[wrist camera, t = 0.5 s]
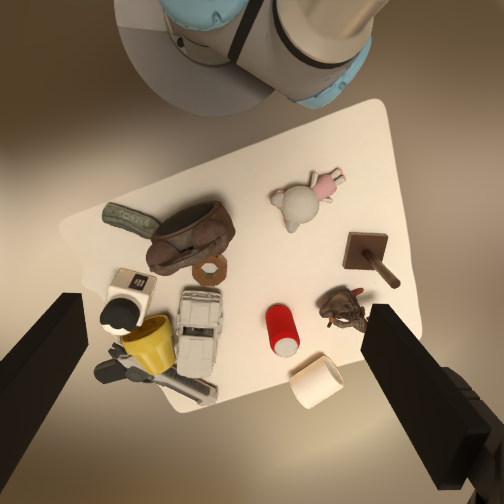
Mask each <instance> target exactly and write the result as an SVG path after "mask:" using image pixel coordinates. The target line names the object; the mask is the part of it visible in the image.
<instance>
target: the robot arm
mask: <svg viewBox="0 0 504 504" xmlns="http://www.w3.org/2000/svg"><path fill="white" fill-rule="evenodd" d="M388 1H389V0H158V2H159V4H160V5H161V7H162V9H163V16H164V21H165V25H166V28H167V31H168V34H169V36H170V38H171V40H172V41H173V43H174V44H175V46H176V47H177V48H178V50H179V51H180V52H181V53H182V54H183V55H184V56H185V57H186V58H188V59H189V60H190V61H192V62H194V63H196V64H198V65H201V66H204V67H209V68H218V67H223V66H226V65H229V64H231V63H233V62H234V63H236V64H237V65H238V66H240V67H242V68H243V69H245V70H246V71H248V72H249V73H251V74H252V75H254V76H256V77H257V78H259V79H260V80H262V81H263V82H265V83H267V84H268V85H270V86H271V87H273V88H274V89H276V90H277V91H279V92H280V93H282V94H283V95H285V96H286V97H287V98H288V99H289V100H290V101H292V102H294V103H298V104H300V105H302V106H304V107H306V108H308V109H318V108H321V107H323V106H325V105H327V104H328V103H330V102H331V101H333V100H334V99H335V98H336V97H337V96H338V95H339V94H340V93H341V92H342V91H343V88H344V86H345V85H347V84H349V83H350V82H351V80H352V79H353V78H354V77H355V75H356V74H357V72H358V70H359V69H360V68H361V66H362V64H363V62H364V61H365V59H366V56H367V54H368V52H369V49H370V45H371V35H370V34H371V30H372V26H373V17H374V16H375V14H376V13H377V12H378V11H379V10H380V9H381V8H382V7H383V6H384V5H385V4H386V3H387V2H388ZM88 345H89V344H88V337H87V330H86V323H85V315H84V308H83V300H82V294H81V293H62V294H61V295H60V296H59V298H58V299H57V300H56V301H55V302H54V303H53V304H52V305H51V306H50V308H49V309H48V310H47V311H46V312H45V313H44V314H43V315H42V316H41V317H40V319H39V320H38V321H37V322H36V323H35V324H34V325H33V326H32V327H31V329H30V330H29V331H28V332H27V333H26V334H25V335H24V336H23V337H22V338H21V340H20V341H19V342H18V343H17V344H16V345H15V346H14V347H13V348H12V349H11V351H10V352H9V353H8V354H7V355H6V356H5V357H4V358H3V360H2V361H0V493H1V492H2V490H3V488H4V487H5V485H6V483H7V482H8V480H9V478H10V476H11V475H12V473H13V471H14V470H15V468H16V466H17V465H18V463H19V461H20V460H21V458H22V456H23V454H24V453H25V451H26V450H27V448H28V446H29V444H30V443H31V441H32V439H33V438H34V436H35V434H36V432H37V431H38V429H39V428H40V426H41V424H42V423H43V421H44V419H45V417H46V415H47V414H48V412H49V411H50V409H51V407H52V406H53V404H54V402H55V401H56V399H57V397H58V396H59V394H60V392H61V390H62V389H63V387H64V385H65V384H66V382H67V380H68V379H69V377H70V375H71V373H72V372H73V370H74V369H75V367H76V365H77V363H78V362H79V360H80V358H81V356H82V355H83V353H84V352H85V350H86V348H87V346H88ZM360 351H361V353H362V354H363V356H364V358H365V360H366V362H367V363H368V365H369V367H370V369H371V371H372V372H373V374H374V376H375V378H376V380H377V381H378V383H379V385H380V387H381V388H382V390H383V392H384V394H385V396H386V397H387V399H388V401H389V403H390V404H391V407H392V408H393V410H394V412H395V414H396V415H397V417H398V419H399V421H400V423H401V424H402V426H403V428H404V430H405V432H406V433H407V435H408V437H409V439H410V441H411V442H412V444H413V446H414V448H415V450H416V451H417V453H418V455H419V457H420V458H421V460H422V462H423V464H424V466H425V468H426V469H427V471H428V473H429V475H430V476H431V478H432V480H433V482H434V484H435V486H436V487H437V489H438V490H461V488H462V486H463V484H464V482H465V480H466V478H467V477H468V479H469V480H470V482H471V483H472V485H473V487H474V488H475V490H474V492H473V494H472V496H471V497H470V499H469V501H468V503H467V504H504V424H503V423H502V422H501V421H500V420H499V419H498V418H497V416H496V415H495V414H494V413H493V412H492V411H491V410H490V408H489V407H488V406H487V405H486V404H485V403H484V402H483V401H482V400H480V397H479V396H478V395H477V394H476V393H475V391H472V388H471V387H470V386H469V385H468V383H467V382H466V381H465V380H464V379H463V378H462V377H461V376H460V375H458V374H457V373H456V372H454V371H453V370H451V369H450V368H448V367H440V366H439V364H438V363H437V362H436V361H435V360H434V358H433V357H432V356H431V355H430V354H429V353H428V351H427V350H426V349H425V348H424V346H423V345H422V344H421V343H420V342H419V340H418V339H417V338H416V337H415V336H414V334H413V333H412V332H411V331H410V330H409V328H408V327H407V326H406V325H405V324H404V322H403V321H402V320H401V319H400V318H399V316H398V315H397V314H396V313H395V312H394V310H393V309H392V308H391V307H390V306H389V304H372V308H371V312H370V316H369V320H368V323H367V327H366V331H365V335H364V339H363V342H362V346H361V350H360Z"/></svg>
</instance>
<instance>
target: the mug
mask: <svg viewBox="0 0 504 504" xmlns="http://www.w3.org/2000/svg"><path fill="white" fill-rule="evenodd" d="M290 385H291V388H292V390H293V393H294V394H295V396H296V398H297V399H298V401H299V402H300V403H301V404H302V405H303V406H304V407H305V408H307V409H310V408H312V407H313V406H315V405H316V404H318V403H320V402H321V401H323V400H324V399H326V398H327V397H329V396H331V395H332V394H334V393H335V392H337V391H338V390H340V389H342V388H343V387H344V381H343V379H342V377H341V375H340V373H339V371H338V370H337V368H336V367H335V365H334V364H333V363H332V362H331V360H330V359H329V358H327V357H326V356H322V357H321V358H319V359H318V360H316V361H315V362H313V363H312V364H310V365H309V366H307V367H306V368H304V369H303V370H301V371H300V372H298V373H297V374H296V375H294V376H293V377H291V379H290Z"/></svg>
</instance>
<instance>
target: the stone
mask: <svg viewBox="0 0 504 504" xmlns="http://www.w3.org/2000/svg"><path fill="white" fill-rule="evenodd" d="M102 220H103V222H104V223H107V224H109V225H111V226H115V227H118V228H123V229H125V230H127V231H130V232H133V233H135V234H137V235H139V236H141V237H143V238H145V239H151V236H152V234H153V233H154V231H155V230H156V229H157V228H158V227H159V226H160V225H159V224H158V223H157V222H156V221H155V220H154V219H152V218H150V217H148V216H144V215H142V214H140V213H139V212H134V211H131V210H129V209H126V208H124V207H120V206H117V205H114V204H111V203H108V204H107V205H106V206H105V208H104V209H103V212H102Z"/></svg>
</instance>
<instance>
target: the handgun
mask: <svg viewBox="0 0 504 504" xmlns="http://www.w3.org/2000/svg"><path fill="white" fill-rule="evenodd" d="M112 347H114V348H115V349H111V348H110V349H109V351H108V352H109V354H110V355H111V356H112V358H113V359H111V360H108V361H105V362H102V363H100V364H98V365H97V366H96V367H95V369H94V375H95V377H96V379H97V380H98V381H100V382H101V383H103V384H106V383H110V382H114V381H117V380H121V379H126V378H128V379H129V380H131V381H133V382H143V383H153V382H155V383H157V384H159V385H161V386H163V387H164V386H166V387H168V388H170V389H173V390H175V391H177V392H179V393H181V394H183V395H185V396H187V397H189V398H191V399H193V400H195V401H196V402H197V404H198V405H200V406H212V405H214V404H215V402H216V400H217V397H218V390H217V389H215V388H213V387H211V386H209V385H207V384H206V383H204V382H202V381H200V380H198V379H196V378H187V377H186V376H181V375H179V374H178V373H177V368H175V367H173V366H171V367H170V368H169V369H167V370H166V371H164V372H162V373H160V374H156V375H150V374H148V373H147V372H146V371H145V369H144V368H143V367H142V366H141V365H140V363H139V362H138V361H137V360H136V359H135V358H134V356H133V355H129V354H128V353H127V352H126V350H125V348H124V347H122V346H120V345H118V344H116V343H113V345H112Z"/></svg>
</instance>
